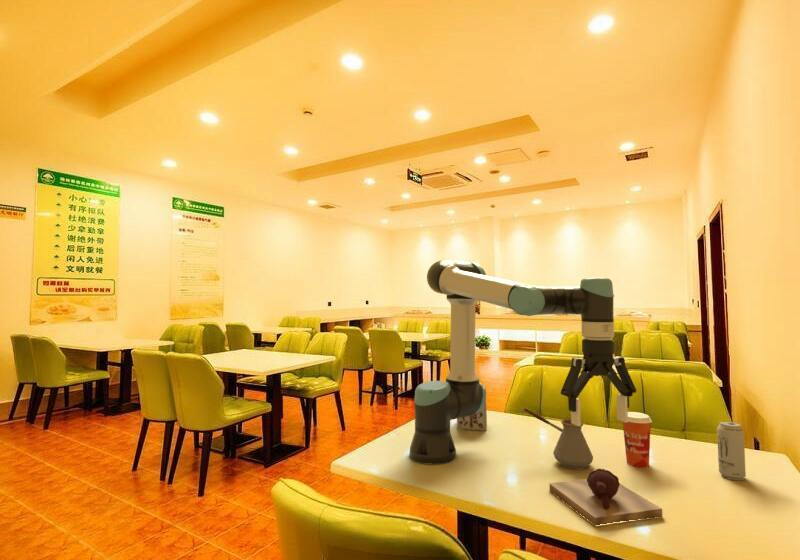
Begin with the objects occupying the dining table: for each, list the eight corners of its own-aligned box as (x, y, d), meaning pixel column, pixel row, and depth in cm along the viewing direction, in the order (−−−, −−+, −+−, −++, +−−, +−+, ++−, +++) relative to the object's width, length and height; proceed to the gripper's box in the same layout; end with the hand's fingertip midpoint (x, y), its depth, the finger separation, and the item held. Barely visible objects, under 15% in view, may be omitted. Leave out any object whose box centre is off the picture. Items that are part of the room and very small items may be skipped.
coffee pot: (596, 462, 129) (595, 414, 130) (589, 475, 120) (587, 423, 121) (529, 448, 142) (528, 404, 142) (517, 459, 132) (516, 411, 133)
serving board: (595, 526, 93) (595, 517, 93) (549, 490, 110) (549, 483, 110) (662, 517, 96) (662, 508, 97) (607, 484, 114) (607, 476, 114)
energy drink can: (713, 472, 121) (711, 421, 122) (731, 471, 122) (729, 420, 123) (732, 481, 115) (730, 427, 116) (751, 480, 116) (749, 426, 117)
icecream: (584, 457, 111) (581, 484, 98) (614, 455, 108) (615, 483, 95) (592, 483, 111) (590, 514, 97) (622, 481, 107) (624, 513, 94)
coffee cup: (619, 464, 128) (617, 415, 128) (626, 456, 134) (625, 409, 135) (650, 471, 122) (648, 420, 123) (656, 463, 128) (654, 414, 129)
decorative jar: (458, 421, 174) (458, 378, 175) (486, 422, 172) (486, 379, 173) (456, 429, 162) (456, 383, 163) (486, 431, 160) (486, 384, 161)
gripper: (563, 341, 99) (564, 430, 98) (650, 338, 104) (653, 423, 103) (545, 338, 106) (546, 421, 105) (628, 336, 112) (630, 415, 111)
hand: (599, 422), depth 104 cm, fingers open, 13 cm apart
